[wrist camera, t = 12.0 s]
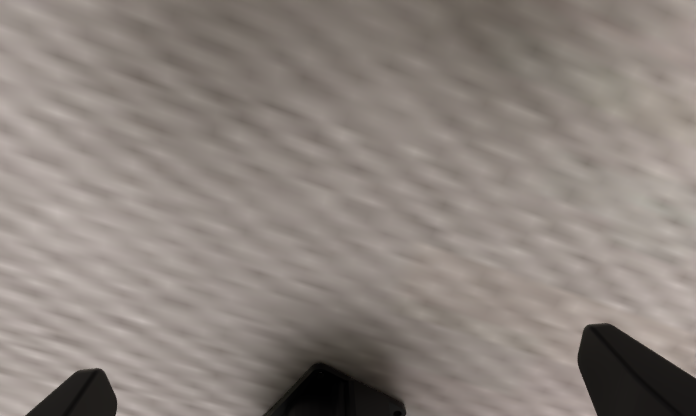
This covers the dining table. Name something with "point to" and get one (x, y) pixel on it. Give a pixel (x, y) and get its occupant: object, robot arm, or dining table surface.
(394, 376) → the dining table surface
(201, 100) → the dining table surface
